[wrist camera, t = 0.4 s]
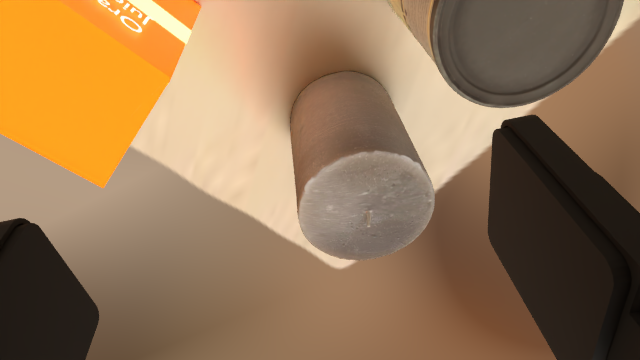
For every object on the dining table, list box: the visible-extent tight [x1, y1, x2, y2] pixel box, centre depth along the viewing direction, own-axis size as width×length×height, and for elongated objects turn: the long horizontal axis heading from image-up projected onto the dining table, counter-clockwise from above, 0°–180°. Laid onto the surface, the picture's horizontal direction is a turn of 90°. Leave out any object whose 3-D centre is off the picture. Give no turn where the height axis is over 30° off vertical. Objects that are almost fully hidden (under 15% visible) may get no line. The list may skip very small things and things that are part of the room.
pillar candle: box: [290, 71, 435, 260], centre depth 37 cm, size 10×10×15 cm
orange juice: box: [0, 0, 201, 188], centre depth 27 cm, size 8×9×20 cm
